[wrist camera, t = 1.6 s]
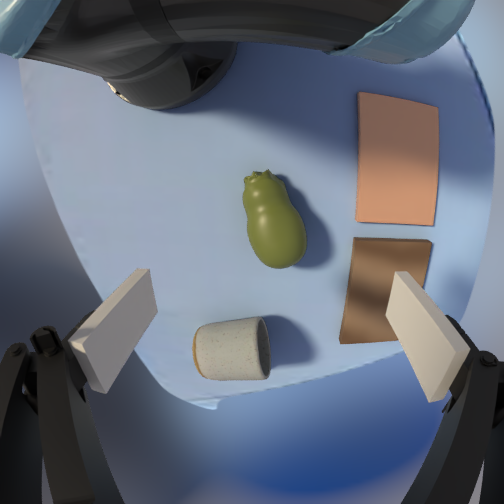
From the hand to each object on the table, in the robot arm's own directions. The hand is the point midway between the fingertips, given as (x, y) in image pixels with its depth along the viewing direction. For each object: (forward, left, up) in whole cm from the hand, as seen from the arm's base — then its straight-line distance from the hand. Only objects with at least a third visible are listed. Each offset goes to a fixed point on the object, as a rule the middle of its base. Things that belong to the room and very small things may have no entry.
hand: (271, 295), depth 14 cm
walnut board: (+9, +14, -17) cm, 23 cm away
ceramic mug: (+16, -4, -17) cm, 24 cm away
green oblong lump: (0, 0, -17) cm, 17 cm away
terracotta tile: (-7, +14, -17) cm, 23 cm away
